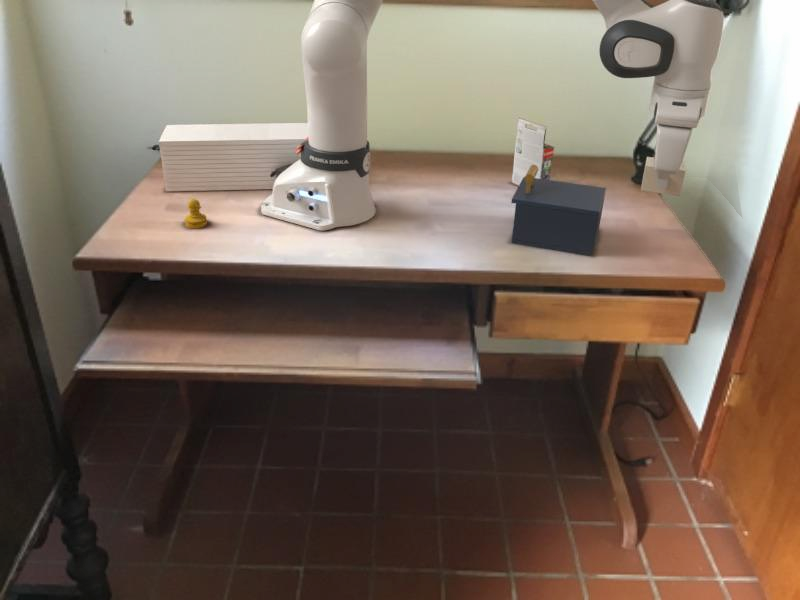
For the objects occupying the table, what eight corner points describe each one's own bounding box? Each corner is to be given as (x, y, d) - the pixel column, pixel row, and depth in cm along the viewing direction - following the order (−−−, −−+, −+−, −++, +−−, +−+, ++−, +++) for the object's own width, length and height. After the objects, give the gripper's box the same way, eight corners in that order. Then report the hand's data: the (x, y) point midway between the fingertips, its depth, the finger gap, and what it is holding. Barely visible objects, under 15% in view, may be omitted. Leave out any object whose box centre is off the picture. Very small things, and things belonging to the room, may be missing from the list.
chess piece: (211, 221, 143) (208, 197, 141) (199, 229, 140) (196, 205, 137) (193, 218, 144) (190, 194, 142) (181, 226, 141) (178, 201, 139)
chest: (511, 243, 138) (515, 203, 134) (523, 218, 148) (527, 181, 144) (592, 256, 134) (598, 216, 130) (598, 230, 144) (605, 192, 140)
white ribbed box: (166, 191, 155) (158, 141, 150) (173, 172, 164) (166, 124, 159) (321, 188, 159) (319, 138, 153) (320, 169, 168) (318, 122, 162)
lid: (511, 202, 134) (513, 178, 132) (523, 180, 144) (525, 157, 141) (598, 215, 130) (603, 191, 128) (605, 191, 140) (609, 168, 137)
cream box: (640, 191, 130) (645, 165, 128) (642, 181, 134) (646, 156, 131) (679, 196, 128) (685, 170, 126) (680, 186, 132) (685, 161, 130)
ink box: (522, 179, 165) (529, 114, 158) (549, 191, 160) (558, 123, 153) (510, 183, 163) (517, 117, 156) (538, 195, 158) (546, 127, 151)
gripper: (660, 84, 132) (646, 159, 140) (656, 116, 116) (639, 199, 123) (698, 87, 131) (681, 163, 138) (699, 121, 114) (680, 205, 121)
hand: (662, 180), depth 130 cm, fingers closed on cream box, 5 cm apart
